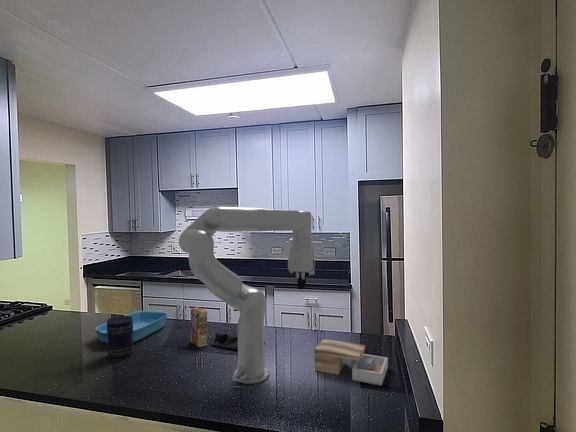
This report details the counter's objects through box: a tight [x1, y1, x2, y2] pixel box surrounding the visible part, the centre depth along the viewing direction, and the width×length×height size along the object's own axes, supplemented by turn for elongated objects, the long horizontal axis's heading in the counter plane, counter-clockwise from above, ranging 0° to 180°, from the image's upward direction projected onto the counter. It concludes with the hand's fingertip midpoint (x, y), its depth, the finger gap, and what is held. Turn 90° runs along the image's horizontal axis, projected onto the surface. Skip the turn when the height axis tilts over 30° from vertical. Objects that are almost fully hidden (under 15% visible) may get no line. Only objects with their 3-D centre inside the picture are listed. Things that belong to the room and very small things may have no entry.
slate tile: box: [357, 358, 375, 369], centre depth 125 cm, size 5×5×2 cm
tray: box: [351, 353, 389, 386], centre depth 125 cm, size 14×10×4 cm
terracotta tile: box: [365, 365, 382, 373], centre depth 124 cm, size 5×5×2 cm
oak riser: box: [313, 338, 366, 375], centre depth 129 cm, size 11×16×8 cm, turn 66°
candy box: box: [190, 307, 208, 348], centre depth 155 cm, size 9×4×15 cm, turn 39°
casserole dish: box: [94, 309, 169, 344], centre depth 168 cm, size 37×22×7 cm, turn 166°
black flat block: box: [210, 332, 266, 351], centre depth 154 cm, size 15×22×5 cm
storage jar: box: [106, 315, 134, 361], centre depth 143 cm, size 10×10×15 cm
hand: (301, 288), depth 137 cm, fingers closed
